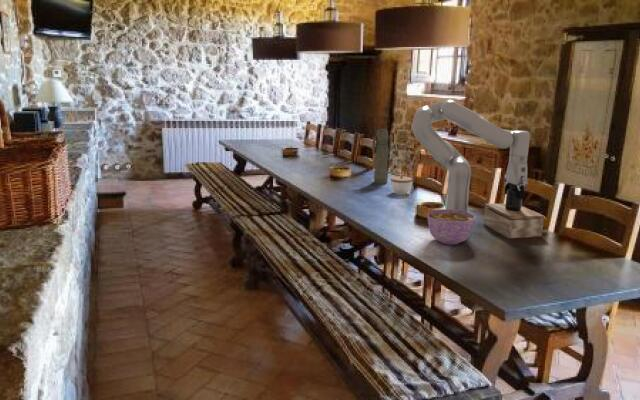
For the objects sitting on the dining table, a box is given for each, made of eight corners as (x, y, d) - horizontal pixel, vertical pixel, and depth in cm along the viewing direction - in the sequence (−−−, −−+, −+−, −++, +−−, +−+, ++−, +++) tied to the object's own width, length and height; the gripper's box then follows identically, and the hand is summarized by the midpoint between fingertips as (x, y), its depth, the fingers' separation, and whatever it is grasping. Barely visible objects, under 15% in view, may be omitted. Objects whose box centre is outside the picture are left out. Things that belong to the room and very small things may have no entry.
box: (507, 238, 218) (509, 220, 216) (483, 223, 239) (484, 207, 237) (541, 236, 220) (543, 218, 218) (514, 222, 241) (516, 206, 239)
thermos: (392, 183, 329) (394, 129, 321) (375, 184, 325) (377, 130, 316) (385, 180, 337) (387, 128, 329) (369, 181, 333) (371, 128, 324)
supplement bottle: (507, 206, 232) (511, 181, 230) (522, 209, 228) (526, 183, 225) (502, 209, 227) (505, 183, 224) (517, 211, 223) (521, 185, 220)
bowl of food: (438, 231, 227) (439, 206, 224) (481, 240, 215) (483, 214, 212) (416, 242, 212) (418, 216, 209) (461, 252, 200) (463, 224, 197)
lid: (509, 218, 216) (510, 216, 215) (485, 206, 237) (485, 203, 236) (543, 218, 218) (544, 215, 218) (516, 206, 239) (516, 203, 239)
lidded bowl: (413, 195, 295) (413, 177, 292) (391, 195, 295) (392, 177, 292) (409, 191, 307) (410, 173, 304) (389, 190, 307) (389, 173, 304)
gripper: (537, 162, 214) (532, 201, 218) (515, 155, 231) (511, 192, 235) (521, 162, 213) (516, 201, 217) (500, 155, 229) (496, 192, 234)
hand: (513, 196), depth 226 cm, fingers open, 9 cm apart
